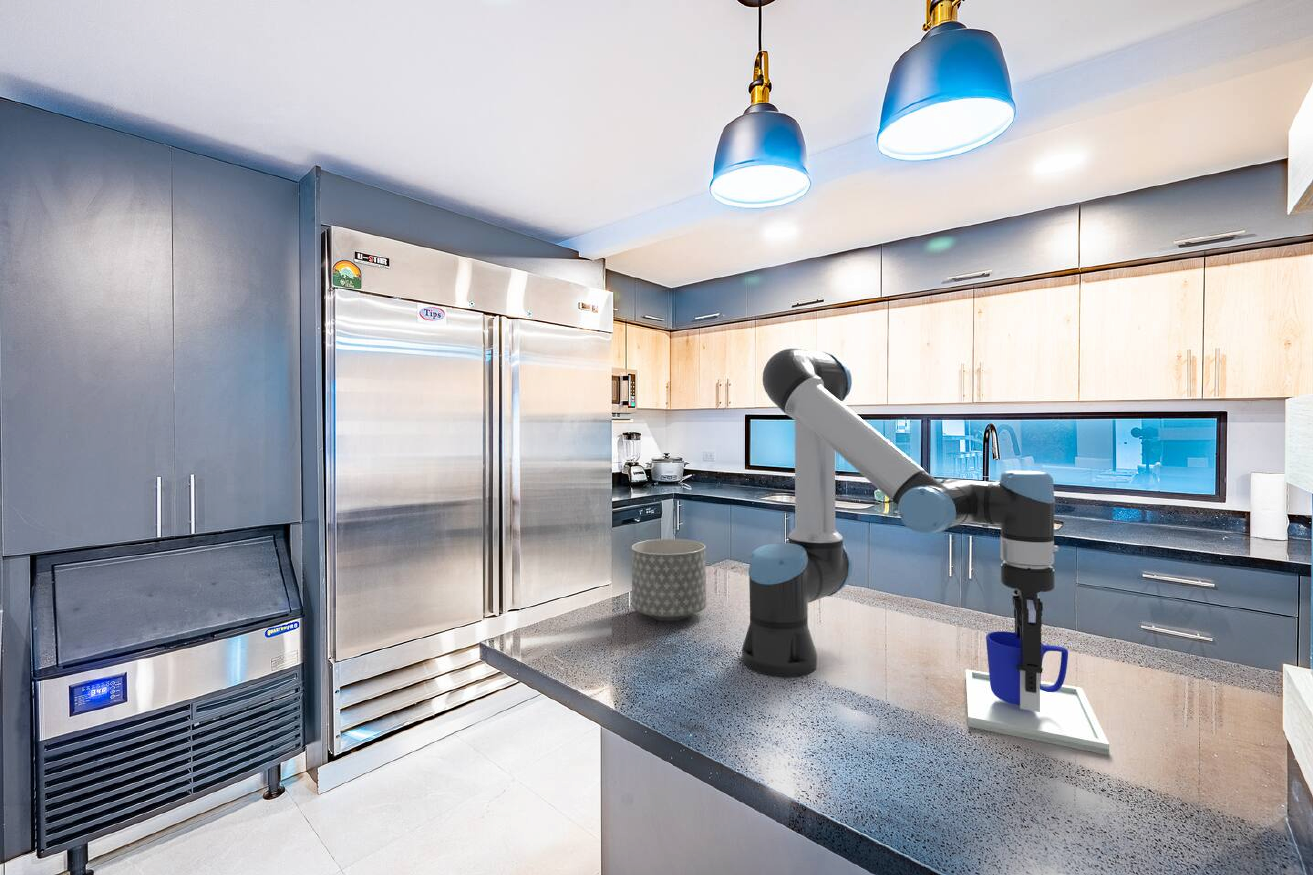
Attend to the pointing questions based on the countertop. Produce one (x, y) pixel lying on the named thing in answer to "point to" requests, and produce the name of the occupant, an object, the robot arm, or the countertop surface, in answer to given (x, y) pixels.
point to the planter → (669, 578)
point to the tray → (1036, 715)
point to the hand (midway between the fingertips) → (1027, 699)
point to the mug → (1014, 665)
